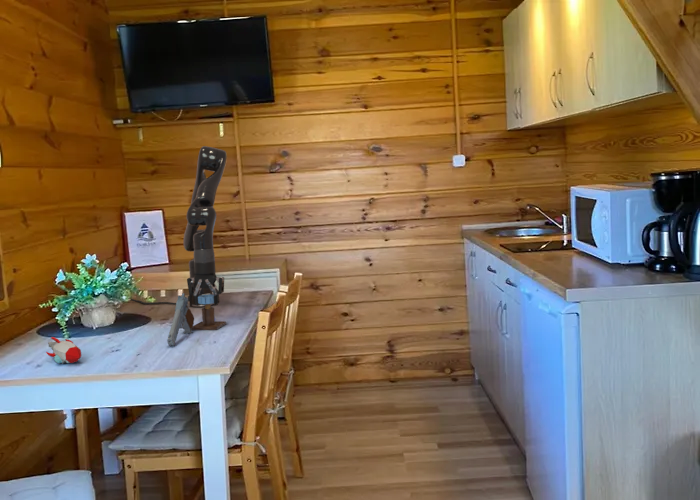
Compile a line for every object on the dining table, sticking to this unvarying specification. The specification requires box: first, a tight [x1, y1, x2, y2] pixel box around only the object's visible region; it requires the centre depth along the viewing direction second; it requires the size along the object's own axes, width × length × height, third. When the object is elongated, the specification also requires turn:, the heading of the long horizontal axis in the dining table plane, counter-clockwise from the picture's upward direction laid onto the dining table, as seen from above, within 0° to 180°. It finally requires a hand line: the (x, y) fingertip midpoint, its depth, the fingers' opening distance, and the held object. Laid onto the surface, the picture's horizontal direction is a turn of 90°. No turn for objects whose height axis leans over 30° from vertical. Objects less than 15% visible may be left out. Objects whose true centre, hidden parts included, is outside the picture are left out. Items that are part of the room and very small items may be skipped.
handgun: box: [166, 293, 195, 347], centre depth 232 cm, size 4×25×15 cm
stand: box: [192, 304, 228, 331], centre depth 248 cm, size 10×10×10 cm
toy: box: [45, 336, 82, 364], centre depth 207 cm, size 21×7×7 cm, turn 40°
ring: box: [198, 293, 214, 304], centre depth 247 cm, size 6×6×2 cm
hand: (207, 305), depth 248 cm, fingers closed on ring, 6 cm apart
